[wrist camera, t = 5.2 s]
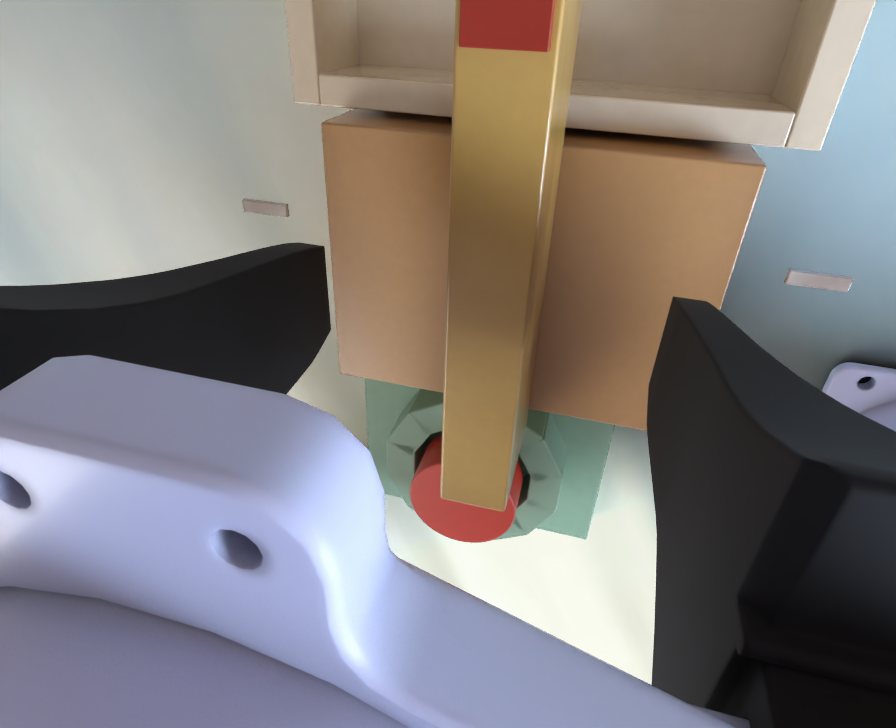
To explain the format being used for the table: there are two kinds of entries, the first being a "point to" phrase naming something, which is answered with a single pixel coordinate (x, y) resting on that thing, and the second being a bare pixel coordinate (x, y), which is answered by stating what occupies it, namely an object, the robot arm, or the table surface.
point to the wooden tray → (606, 64)
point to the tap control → (541, 456)
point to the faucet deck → (569, 263)
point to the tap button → (458, 503)
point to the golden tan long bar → (500, 229)
